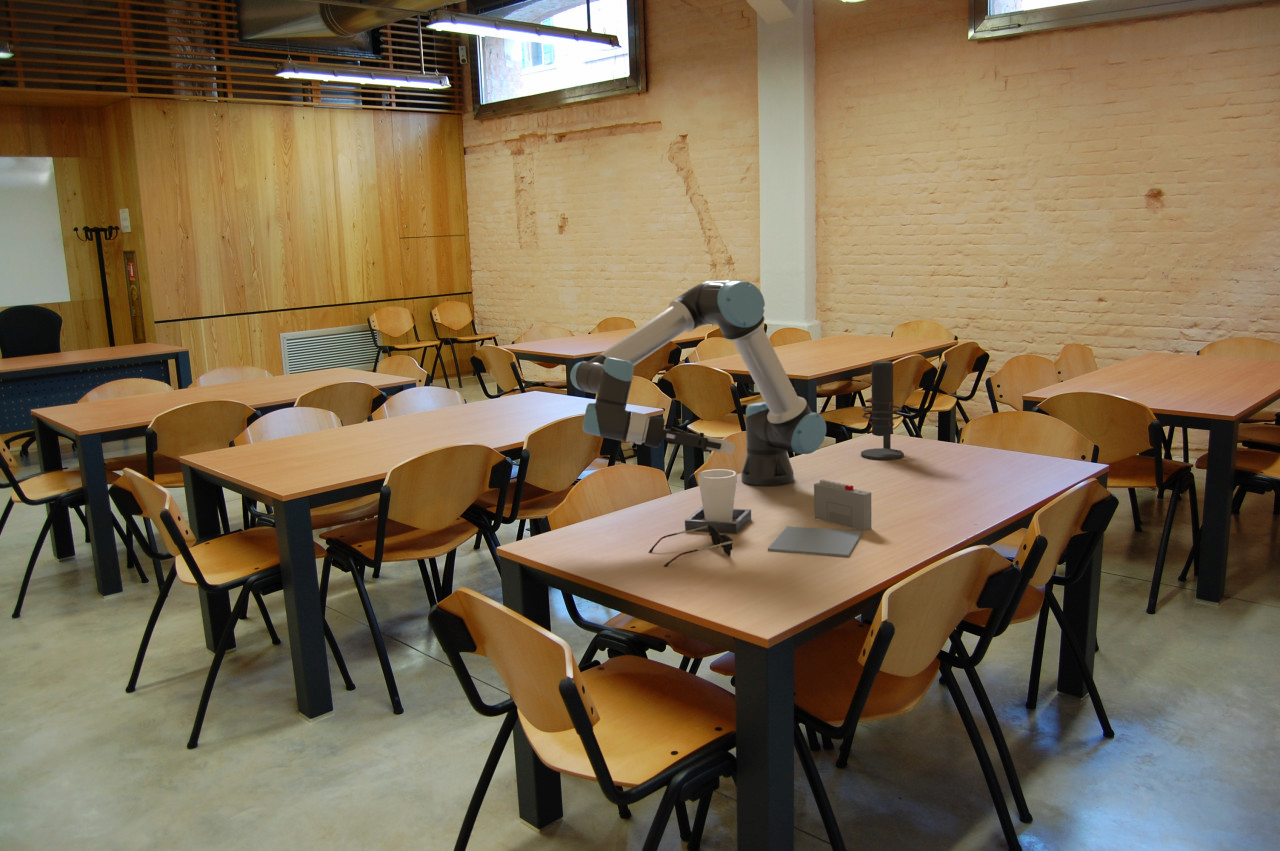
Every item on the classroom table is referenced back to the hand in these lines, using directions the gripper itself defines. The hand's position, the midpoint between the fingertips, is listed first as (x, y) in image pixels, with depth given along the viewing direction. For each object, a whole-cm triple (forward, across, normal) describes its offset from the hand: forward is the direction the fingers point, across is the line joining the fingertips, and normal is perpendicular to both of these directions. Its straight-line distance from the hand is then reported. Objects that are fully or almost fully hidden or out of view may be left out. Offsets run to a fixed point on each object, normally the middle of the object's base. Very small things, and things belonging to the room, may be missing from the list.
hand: (731, 447), depth 235 cm
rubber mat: (+22, +15, -17) cm, 31 cm away
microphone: (+55, -70, +5) cm, 90 cm away
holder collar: (+1, -2, -19) cm, 20 cm away
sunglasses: (-6, +20, -25) cm, 33 cm away
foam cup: (+1, -2, -20) cm, 20 cm away
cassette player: (+30, +1, -13) cm, 33 cm away
